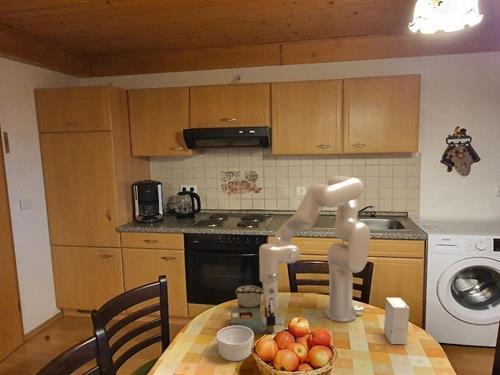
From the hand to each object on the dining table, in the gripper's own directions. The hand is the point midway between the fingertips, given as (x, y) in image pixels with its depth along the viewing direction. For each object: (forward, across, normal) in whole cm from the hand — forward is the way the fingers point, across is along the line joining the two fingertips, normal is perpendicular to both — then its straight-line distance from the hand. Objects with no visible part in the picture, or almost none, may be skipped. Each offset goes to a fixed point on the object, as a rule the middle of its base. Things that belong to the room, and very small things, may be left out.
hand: (269, 320), depth 139 cm
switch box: (+5, +6, +9) cm, 12 cm away
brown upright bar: (+5, 0, 0) cm, 5 cm away
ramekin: (+5, -12, +14) cm, 19 cm away
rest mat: (+5, +10, -2) cm, 11 cm away
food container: (+5, +22, +6) cm, 23 cm away
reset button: (+2, +6, +9) cm, 11 cm away
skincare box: (+5, -10, -46) cm, 47 cm away
